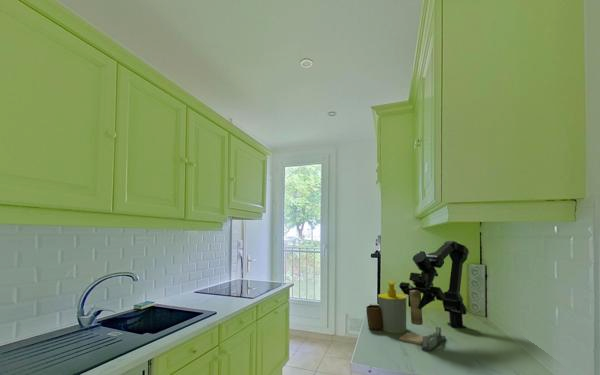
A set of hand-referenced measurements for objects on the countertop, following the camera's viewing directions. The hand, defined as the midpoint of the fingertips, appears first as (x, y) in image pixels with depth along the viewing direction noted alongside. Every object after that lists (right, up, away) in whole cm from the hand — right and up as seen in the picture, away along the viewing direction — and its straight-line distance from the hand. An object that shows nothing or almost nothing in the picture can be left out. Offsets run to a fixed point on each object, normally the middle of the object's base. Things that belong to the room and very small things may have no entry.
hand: (414, 307), depth 128 cm
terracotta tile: (0, -14, 0) cm, 14 cm away
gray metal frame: (+6, -13, -5) cm, 15 cm away
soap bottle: (-4, -16, +15) cm, 22 cm away
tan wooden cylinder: (+1, -7, 0) cm, 7 cm away
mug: (-12, -16, +18) cm, 27 cm away
